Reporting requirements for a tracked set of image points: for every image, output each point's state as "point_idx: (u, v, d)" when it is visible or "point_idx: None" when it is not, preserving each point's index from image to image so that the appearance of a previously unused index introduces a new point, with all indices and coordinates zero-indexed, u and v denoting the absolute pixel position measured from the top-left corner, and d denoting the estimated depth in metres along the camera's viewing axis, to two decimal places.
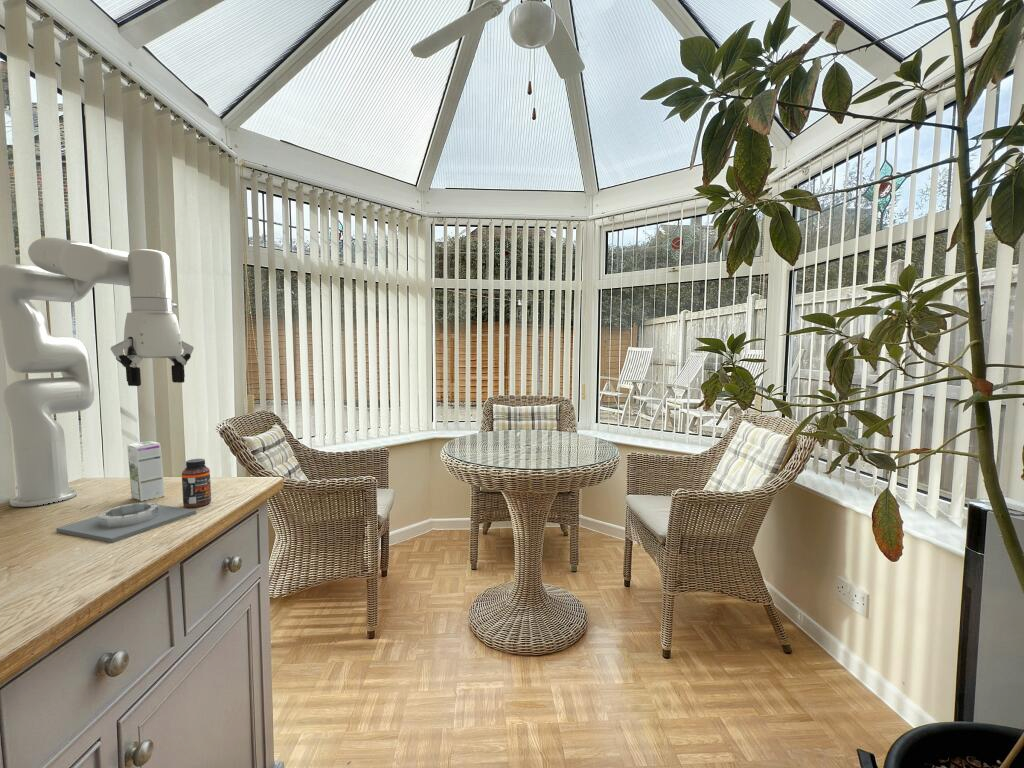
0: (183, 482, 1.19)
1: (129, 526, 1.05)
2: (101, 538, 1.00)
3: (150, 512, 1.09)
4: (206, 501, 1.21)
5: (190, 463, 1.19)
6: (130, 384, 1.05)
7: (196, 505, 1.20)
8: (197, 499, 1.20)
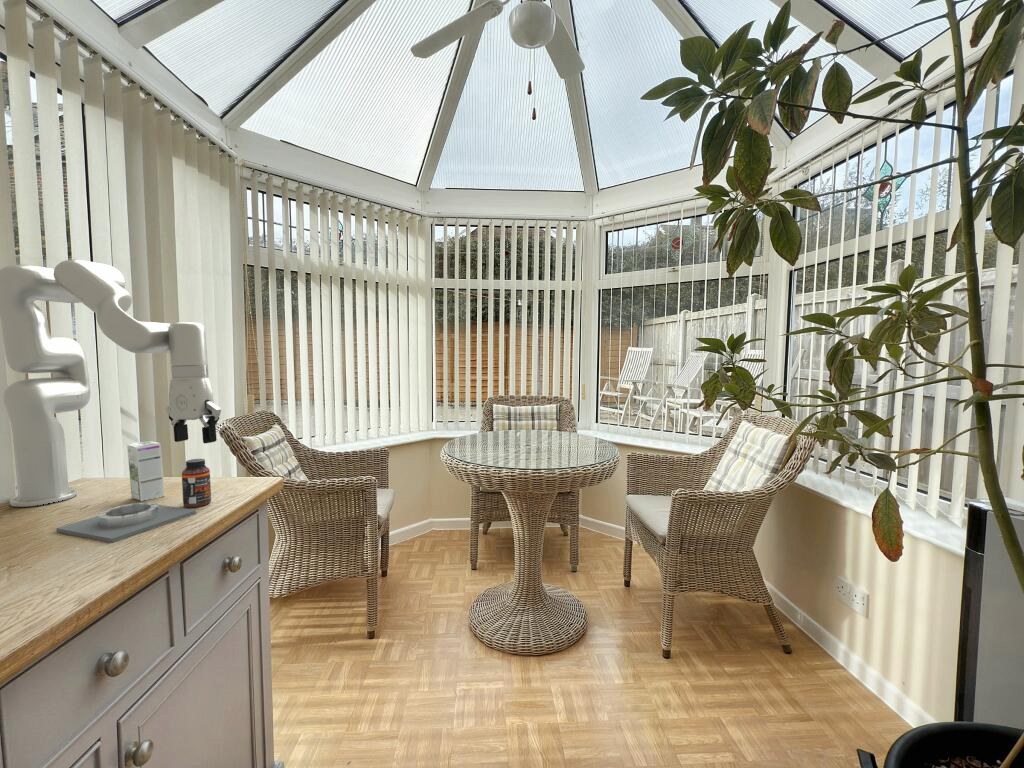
0: (183, 482, 1.19)
1: (129, 526, 1.05)
2: (101, 538, 1.00)
3: (150, 512, 1.09)
4: (206, 501, 1.21)
5: (190, 463, 1.19)
6: (207, 441, 1.18)
7: (196, 505, 1.20)
8: (197, 499, 1.20)
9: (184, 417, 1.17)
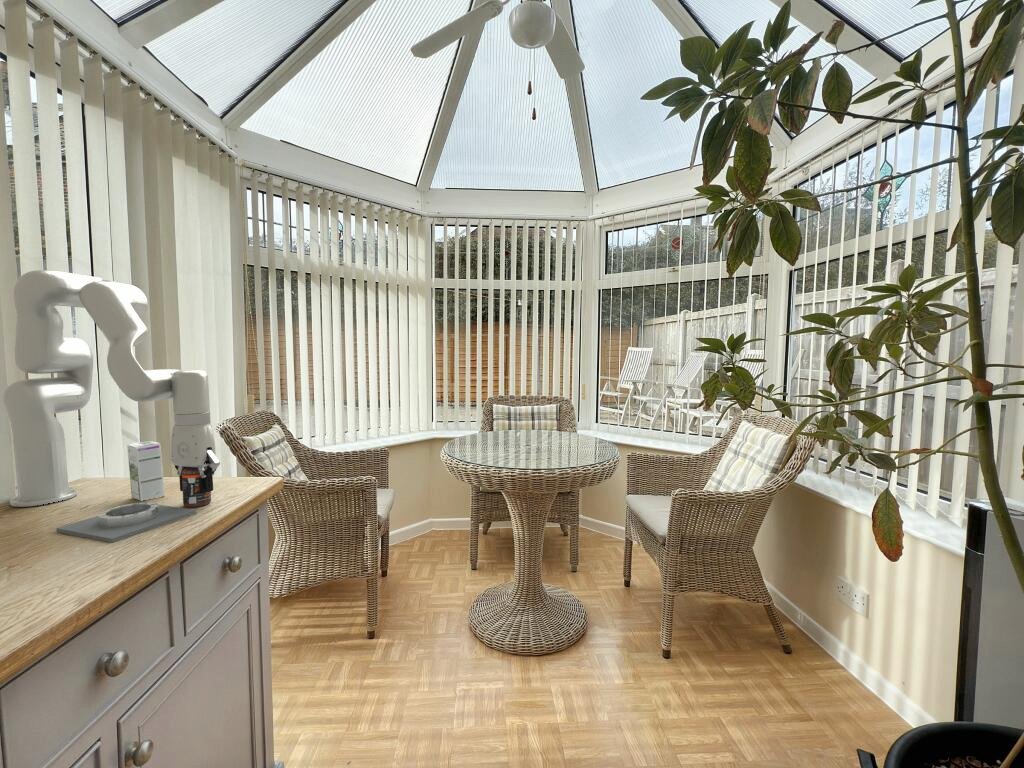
0: (183, 482, 1.19)
1: (129, 526, 1.05)
2: (101, 538, 1.00)
3: (150, 512, 1.09)
4: (206, 501, 1.21)
5: None
6: (204, 492, 1.20)
7: (196, 505, 1.20)
8: (197, 499, 1.20)
9: (186, 464, 1.18)
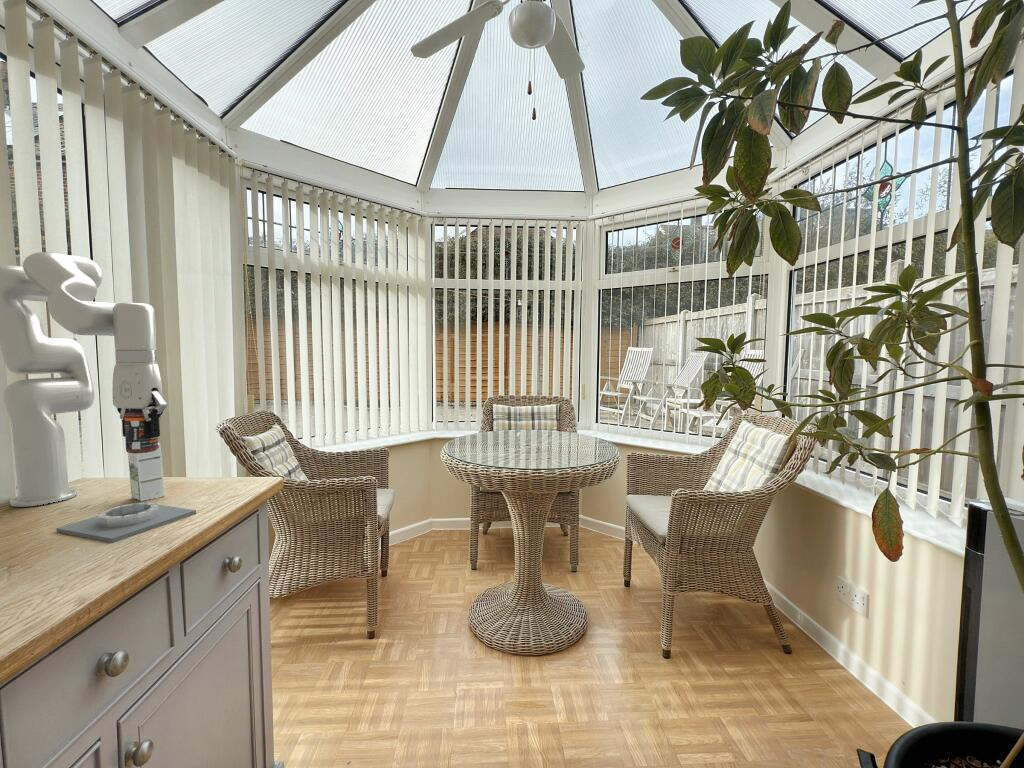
0: (126, 425, 1.09)
1: (129, 526, 1.05)
2: (101, 538, 1.00)
3: (150, 512, 1.09)
4: (152, 448, 1.11)
5: None
6: (149, 437, 1.10)
7: (140, 451, 1.09)
8: (141, 444, 1.09)
9: (128, 406, 1.08)
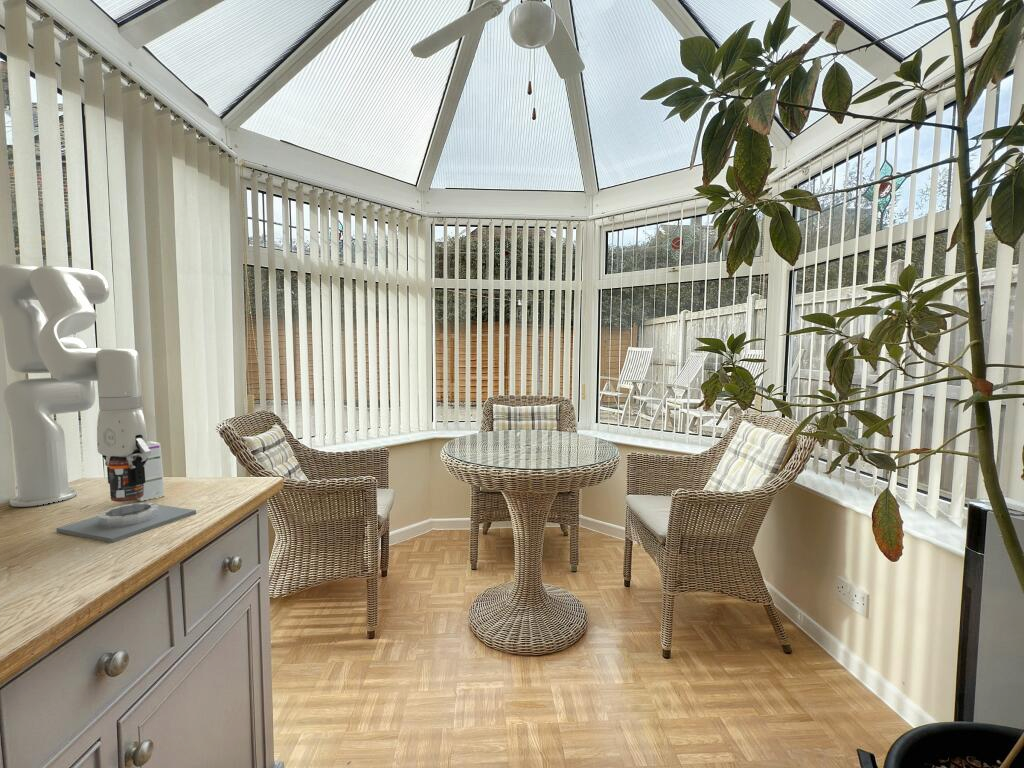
0: (110, 473, 1.07)
1: (129, 526, 1.05)
2: (101, 538, 1.00)
3: (150, 512, 1.09)
4: (137, 495, 1.09)
5: None
6: (134, 484, 1.07)
7: (124, 499, 1.07)
8: (125, 492, 1.07)
9: (112, 454, 1.06)
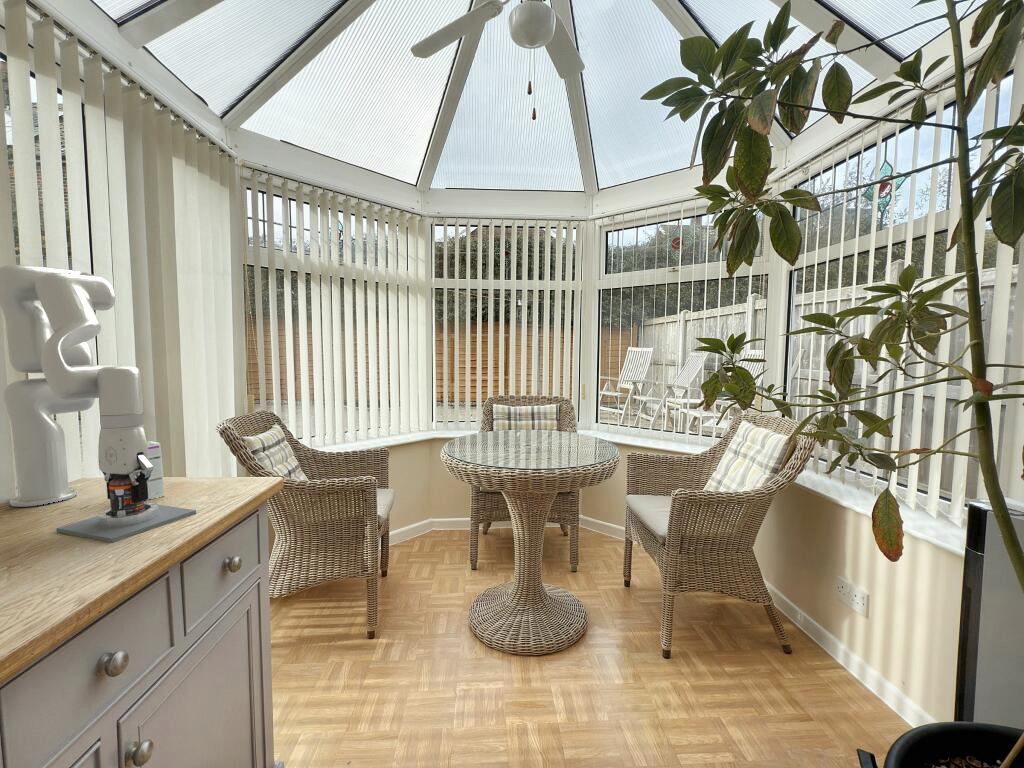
0: (110, 494, 1.07)
1: (129, 526, 1.05)
2: (101, 538, 1.00)
3: (150, 512, 1.09)
4: None
5: None
6: (137, 501, 1.07)
7: None
8: (126, 512, 1.07)
9: (113, 471, 1.06)
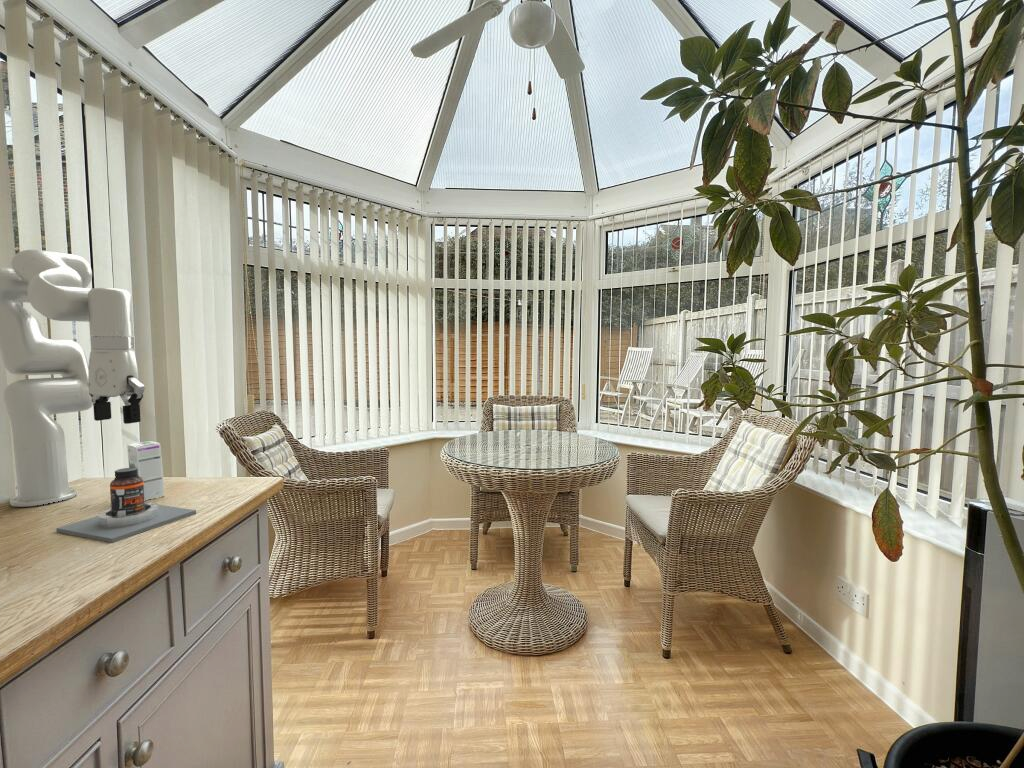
0: (111, 494, 1.07)
1: (129, 526, 1.05)
2: (101, 538, 1.00)
3: (150, 512, 1.09)
4: None
5: (119, 473, 1.07)
6: (129, 422, 1.07)
7: None
8: (127, 513, 1.07)
9: (103, 394, 1.06)
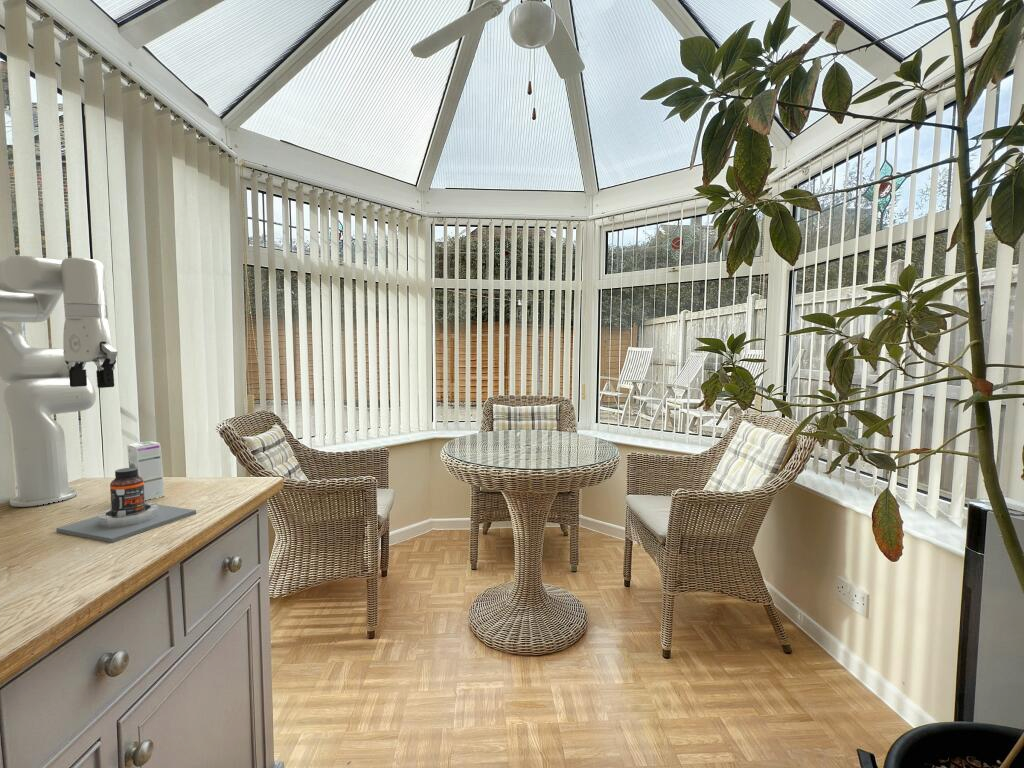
0: (111, 494, 1.07)
1: (129, 526, 1.05)
2: (101, 538, 1.00)
3: (150, 512, 1.09)
4: None
5: (119, 473, 1.07)
6: (103, 386, 1.11)
7: None
8: (127, 513, 1.07)
9: (77, 359, 1.10)
